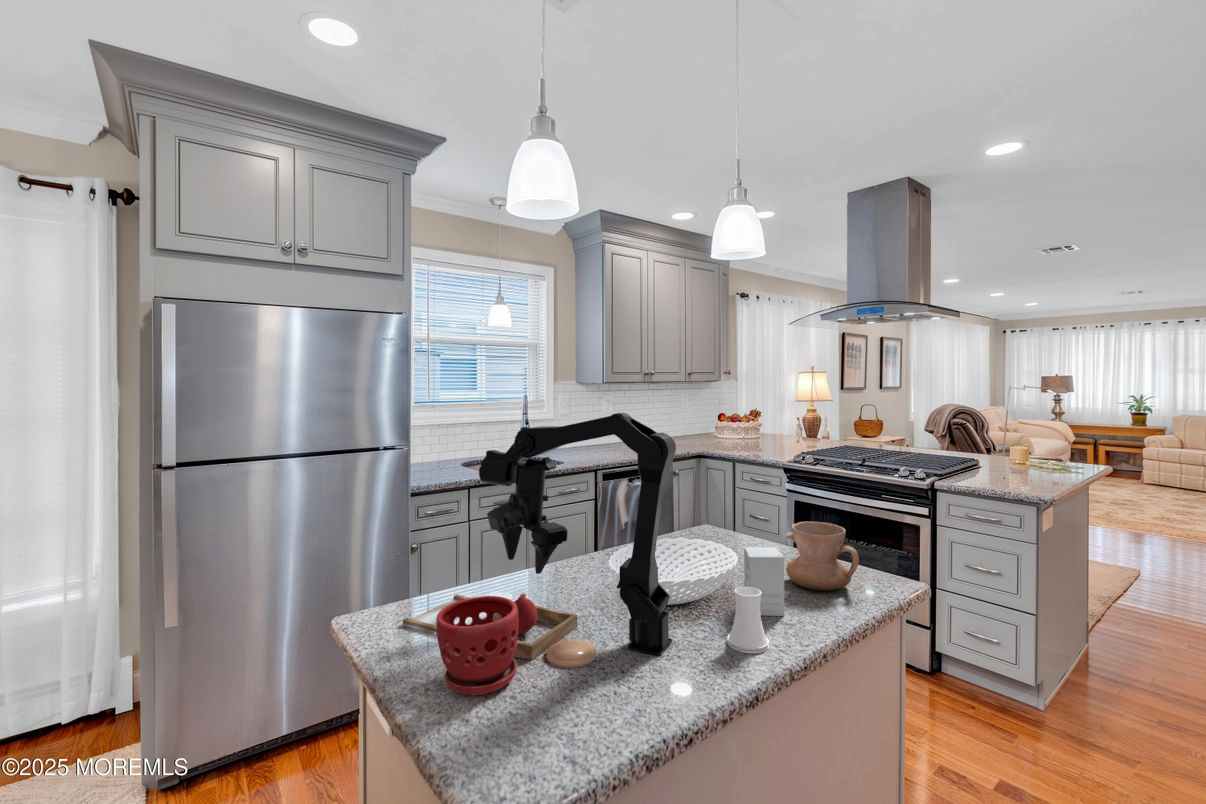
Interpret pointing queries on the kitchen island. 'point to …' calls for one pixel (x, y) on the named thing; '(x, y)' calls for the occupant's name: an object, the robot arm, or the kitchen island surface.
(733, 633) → the vase
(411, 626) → the wooden double frame
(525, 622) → the onion
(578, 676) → the kitchen island surface
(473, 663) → the plant pot
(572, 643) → the saucer
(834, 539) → the ceramic jug
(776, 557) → the supplement box
